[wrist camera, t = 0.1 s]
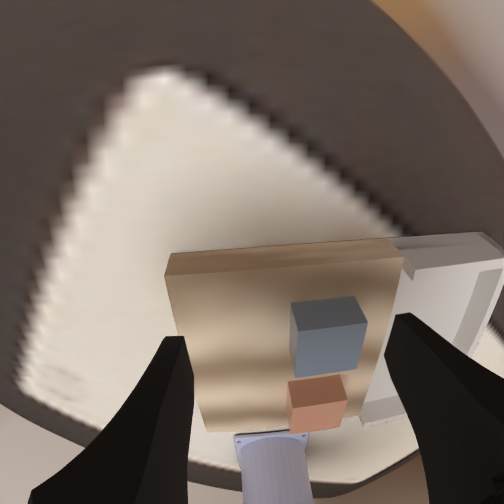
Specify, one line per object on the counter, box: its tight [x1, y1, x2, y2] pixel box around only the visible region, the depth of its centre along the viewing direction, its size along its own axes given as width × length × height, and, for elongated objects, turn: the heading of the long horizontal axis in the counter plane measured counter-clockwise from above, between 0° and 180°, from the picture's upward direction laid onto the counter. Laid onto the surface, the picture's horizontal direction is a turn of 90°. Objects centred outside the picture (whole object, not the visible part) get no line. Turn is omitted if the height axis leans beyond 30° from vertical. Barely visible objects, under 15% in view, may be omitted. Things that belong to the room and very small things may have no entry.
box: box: [359, 232, 504, 427], centre depth 23 cm, size 17×9×4 cm, turn 3°
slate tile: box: [289, 296, 368, 378], centre depth 19 cm, size 4×4×2 cm
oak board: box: [164, 238, 404, 432], centre depth 23 cm, size 17×14×2 cm
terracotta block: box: [286, 374, 348, 434], centre depth 23 cm, size 4×4×2 cm
